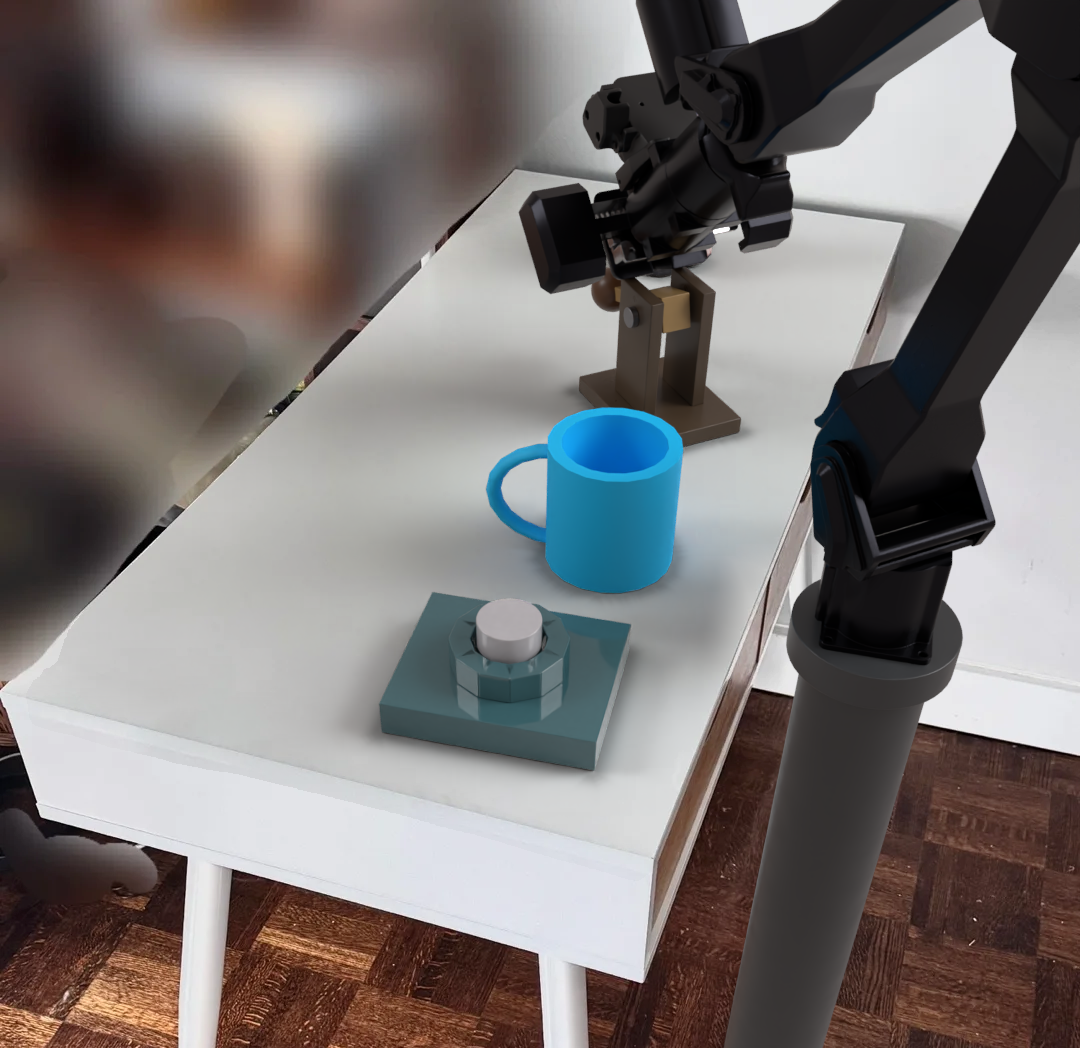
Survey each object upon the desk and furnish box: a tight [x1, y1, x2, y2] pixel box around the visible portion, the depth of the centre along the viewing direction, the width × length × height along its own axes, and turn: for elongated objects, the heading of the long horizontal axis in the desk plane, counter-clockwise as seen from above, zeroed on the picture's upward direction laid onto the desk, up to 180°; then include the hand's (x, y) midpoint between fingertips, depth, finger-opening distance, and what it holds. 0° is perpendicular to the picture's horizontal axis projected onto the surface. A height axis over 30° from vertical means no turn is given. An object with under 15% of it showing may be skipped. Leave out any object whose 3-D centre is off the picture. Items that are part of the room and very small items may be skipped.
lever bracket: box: [578, 267, 742, 448], centre depth 94 cm, size 10×8×10 cm
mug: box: [485, 408, 684, 594], centre depth 83 cm, size 12×8×8 cm
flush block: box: [378, 591, 632, 772], centre depth 74 cm, size 12×10×4 cm
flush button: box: [476, 597, 542, 664], centre depth 73 cm, size 4×4×2 cm
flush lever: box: [590, 266, 691, 335], centre depth 95 cm, size 11×3×3 cm, turn 25°
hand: (613, 264), depth 97 cm, fingers closed, pressing on flush lever, lever bracket
